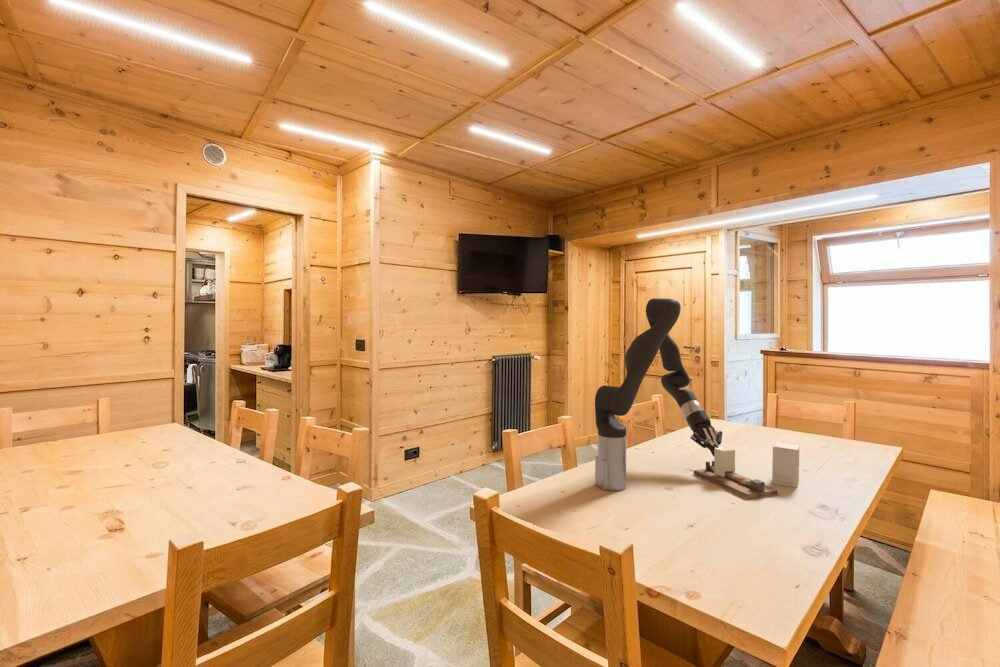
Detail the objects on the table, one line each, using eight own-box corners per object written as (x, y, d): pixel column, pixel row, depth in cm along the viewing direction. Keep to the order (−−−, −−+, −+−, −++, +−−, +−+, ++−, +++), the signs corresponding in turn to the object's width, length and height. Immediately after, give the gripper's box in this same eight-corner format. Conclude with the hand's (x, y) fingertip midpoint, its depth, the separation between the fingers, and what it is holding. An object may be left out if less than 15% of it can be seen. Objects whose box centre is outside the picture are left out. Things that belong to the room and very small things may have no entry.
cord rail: (746, 499, 143) (747, 484, 143) (693, 474, 166) (693, 461, 166) (777, 494, 146) (777, 480, 146) (721, 471, 169) (721, 459, 169)
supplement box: (797, 488, 152) (798, 450, 152) (771, 483, 156) (772, 446, 156) (799, 482, 158) (800, 445, 157) (774, 477, 162) (774, 441, 162)
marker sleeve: (722, 476, 157) (723, 451, 157) (714, 473, 161) (714, 448, 161) (734, 475, 158) (735, 449, 158) (726, 471, 162) (726, 446, 162)
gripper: (685, 410, 169) (708, 453, 157) (715, 408, 173) (740, 450, 161) (675, 422, 174) (697, 464, 163) (704, 419, 178) (728, 460, 166)
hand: (718, 457), depth 162 cm, fingers closed
